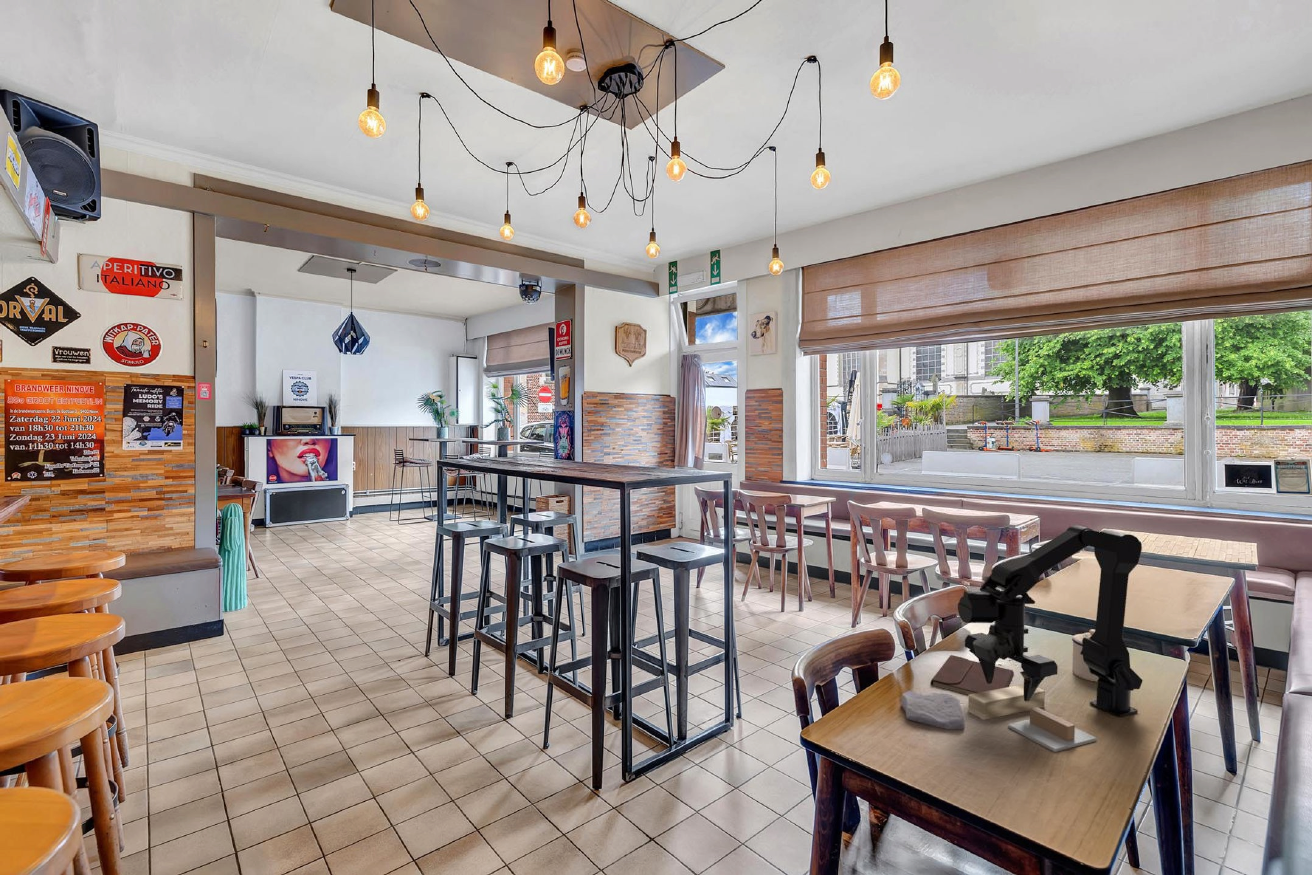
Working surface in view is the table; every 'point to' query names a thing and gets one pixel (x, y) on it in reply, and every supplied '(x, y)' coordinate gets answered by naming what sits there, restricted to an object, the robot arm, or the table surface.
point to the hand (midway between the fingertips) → (1007, 691)
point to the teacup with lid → (1081, 658)
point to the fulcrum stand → (1051, 731)
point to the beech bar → (1003, 702)
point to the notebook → (969, 676)
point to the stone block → (934, 709)
